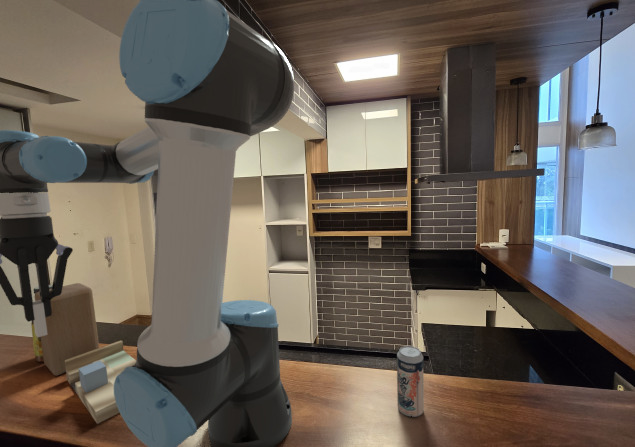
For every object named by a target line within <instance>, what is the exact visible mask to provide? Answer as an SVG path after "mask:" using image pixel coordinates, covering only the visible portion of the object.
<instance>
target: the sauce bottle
mask: <svg viewBox="0 0 635 447" xmlns="http://www.w3.org/2000/svg"><path fill="white" fill-rule="evenodd" d="M52 285H53V284H49V289H52ZM37 292H39V285H38V286H35V287H33V294H34V295H35V293H37ZM30 324H31V334H32V345H33V346H32V348H33V355H34V358H35V361H36V362H39V363H40V362H41V363H42V362H43V363H44V359H43V352H42V345H41V338H40V337H37V336H36V334H35V329H34V321H31V323H30Z"/></svg>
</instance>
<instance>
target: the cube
mask: <svg viewBox="0 0 635 447" xmlns="http://www.w3.org/2000/svg"><path fill="white" fill-rule="evenodd" d="M79 375H80V383H81V387H82V388H83V389H84V391H85V392H86V393H87V392H90V391H92V390H94V389H97V388H99V387H101V386H103V385H106V384H108V377H107V369H106V366H105V365H104V364H103V363H102V362H101V361H97V362H95V363H92V364H89V365H87V366H84V367H82V368H79Z"/></svg>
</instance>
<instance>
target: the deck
mask: <svg viewBox="0 0 635 447" xmlns="http://www.w3.org/2000/svg"><path fill="white" fill-rule="evenodd" d="M64 361H65V368H66V372H65V374H66V380H67V383H68V384H69V386H70V387H71V388H72V389H73V390H74V392H75V395H77V396H78V398H79V399H80V401H81V403H82V404H83V406H85V408H86V410H87V411H88V413H89V414H90V416H91V417H92V419H93V420H94V421H95V423H96V424H97V425H98V424H101V423H103V422H104V421H107V420H108V419H110V418H112V417H115V415H118V414H120V412H119V410H118V407H117V404H116V401H115V397H114V382H115V379H116V377H117V376H118V375H119V374H120V373H121V372H122V371H124V369H125V368H126V367H129V366H132V365H134V364H135V363H136V361H137V359H135V358H133V356H131V355H130V354H129V353H128V352H126V351H125V350H124V342H123V340H118V341H115V342H112V343H110V344H106V345H104V346H100V347H99V348H98V349H95V350H92V351H89V352H87V353H84V354H81V355H78V356H75V357H73V358H70V359H67V360H64ZM97 361H101V362H102V363H103V364H104V365H105V366H106V369H107V377H108V384H106V385H103V386H101V387H99V388H97V389H94V390H92V391H90V392H87V393H86V392H85V391H84V389H83V388H82V387H81V383H80V375H79V368H82V367H84V366H87V365H89V364H92V363H95V362H97Z"/></svg>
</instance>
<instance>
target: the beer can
mask: <svg viewBox="0 0 635 447" xmlns="http://www.w3.org/2000/svg"><path fill="white" fill-rule="evenodd" d="M398 350H399V351H397V354H396V378H397V379H396V380H397V381H396V386H397V388H396V391H397V393H396V394H397V396H396V398H397V400H396V401H397V409H398V411H399V412H401V414H402V415H404V416H407V417H411V416H412V417H413V418H415V417H419V416H421V415H423V412H424V355H423V354H422V352H421V350H420V349H419V348H418V347H415V346H410V345H405V346H401V347H400V349H398Z"/></svg>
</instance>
